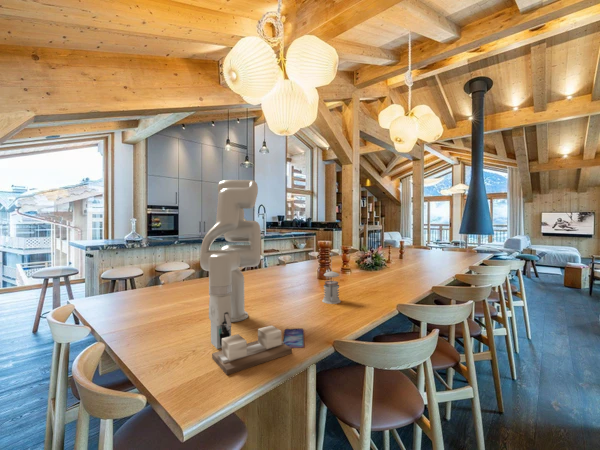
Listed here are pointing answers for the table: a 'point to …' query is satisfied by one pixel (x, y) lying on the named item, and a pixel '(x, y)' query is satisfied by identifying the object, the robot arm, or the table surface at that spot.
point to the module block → (216, 335)
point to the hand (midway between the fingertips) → (221, 340)
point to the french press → (331, 288)
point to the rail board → (250, 350)
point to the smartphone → (294, 338)
